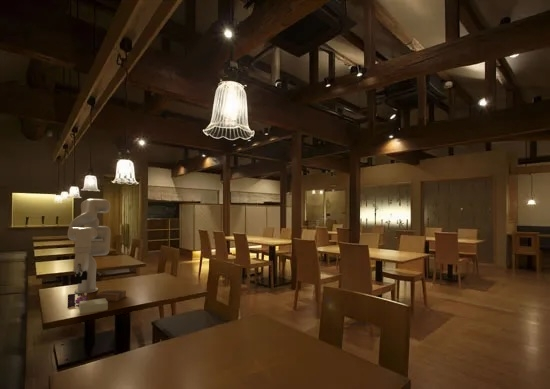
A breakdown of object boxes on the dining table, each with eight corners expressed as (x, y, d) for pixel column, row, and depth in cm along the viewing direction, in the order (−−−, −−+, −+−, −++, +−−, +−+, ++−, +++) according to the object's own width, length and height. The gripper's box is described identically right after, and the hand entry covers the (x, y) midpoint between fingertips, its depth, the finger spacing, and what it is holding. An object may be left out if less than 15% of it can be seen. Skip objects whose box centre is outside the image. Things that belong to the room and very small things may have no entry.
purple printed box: (67, 294, 164) (87, 291, 169) (67, 295, 168) (86, 293, 173) (67, 307, 162) (87, 304, 167) (66, 308, 166) (86, 305, 171)
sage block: (79, 309, 161) (79, 301, 162) (105, 305, 168) (105, 298, 168) (80, 314, 153) (80, 306, 153) (107, 310, 160) (107, 302, 160)
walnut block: (106, 296, 185) (106, 289, 186) (125, 297, 185) (125, 290, 185) (95, 301, 176) (95, 294, 176) (115, 302, 175) (116, 294, 175)
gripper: (80, 248, 178) (78, 279, 176) (69, 252, 161) (67, 285, 160) (94, 248, 180) (93, 278, 179) (85, 251, 163) (84, 284, 162)
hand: (81, 281), depth 169 cm, fingers open, 9 cm apart
